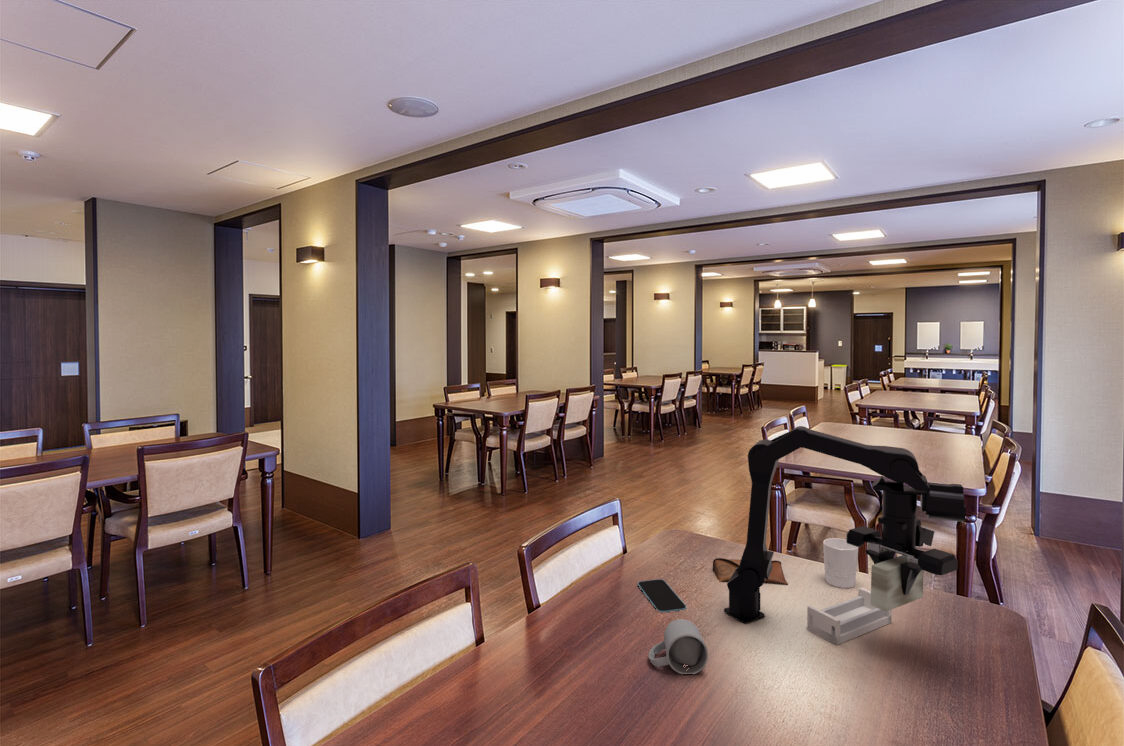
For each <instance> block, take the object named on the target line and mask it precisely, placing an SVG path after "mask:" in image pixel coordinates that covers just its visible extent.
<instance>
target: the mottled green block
mask: <svg viewBox="0 0 1124 746" xmlns="http://www.w3.org/2000/svg"><path fill="white" fill-rule="evenodd" d="M905 562H907V556H904V555H899V556H896V557H893V558H892V559H889V560H886V561H883V562H880V563H877V564H874V563H873V564H871V569H870V570H871V577H870V591H871V605H872V606H874V607H876V608H878V609H881V610H883V611H885V612H887V611H889V610H892V611H893V610H894V609H896V608H899V607H901V606H905V605H907V604H909V603H912V602H914V601H915V602H916V601H917V600H920V599H922V598H924V573H925V571H924V570H921V572H920V573H919V574H918V576H917V578H916V580H915V582H914V584H913V586H912V588H911V590H910V592H909V594H908V595H904V594H903V591H902V582H901V567H900V564H902V563H905Z"/></svg>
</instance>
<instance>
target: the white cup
mask: <svg viewBox="0 0 1124 746" xmlns="http://www.w3.org/2000/svg"><path fill="white" fill-rule="evenodd" d="M822 543H823V566H824V577H825V578H824V579H825V582H826V583H828V584H829V585H831V586H834V587H836V588H842V589H851V588H854V587H855V586H856V581H857V580H856V576H857V571H858V570H857V569H858V559H859V558H858V557H859V547H857V546H854V545H851V544H848V543H847V542H846V538H845V539H844V538H837V537H834V538H832V537H829V538H826V539H824V540H823V542H822Z"/></svg>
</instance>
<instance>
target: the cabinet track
mask: <svg viewBox="0 0 1124 746" xmlns="http://www.w3.org/2000/svg"><path fill="white" fill-rule="evenodd" d="M806 608H807V613H806V614H807V615H806V618H807V621H806V622H807V623H806V629H807V630H808V631H810V632H811V633H814V634H816V635H818V636H819V637H820V638H824V640H827V641H828V642H831V643H833V644H834V645H836V646H838V645H841V644H844V643H845V642H848V641H850V640H852V639H855V638H857V637H860V636H862V635H865V634H867V633H869V632H872V631H874V630H876V629H880V628H882V627H883V626H887V625H889V624H891V623H892V611H893V609H892V610H889V611H887V612H885V611H883V610H881V609H878V608H876V607H874V606H872V605H871V590H868V589H866V588H864V587H859V588H858V596H856V597H853V598H850V599H847V600H845V601H841V602H839V603H836V604H833V605H829V606H828V607H825V608H823V609H819V608H817V607H815V606H814V605H812V604H810V605H807V607H806Z"/></svg>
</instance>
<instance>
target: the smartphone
mask: <svg viewBox="0 0 1124 746" xmlns="http://www.w3.org/2000/svg"><path fill="white" fill-rule="evenodd" d="M638 586H639V587H640V588H641V590H642V591H643V593H644V594H645V595H646V596H647V598H648V599H649V600H650V602H651V603H652V604H653V606H654V607H655V608H656V609H657V610H658V611H659V612H668V613H671V612H670V611H676V612H678V611H677V610H684V609H686V610H687V605H686V604H685V602H683V600H682V599H681V598H680V597H679V596H678V594H677V593H676V592H675V591H674V590H673V589H672V588H671V586H670V585H669V584H668V583H667V582H666V580H664V579H661V578H656V579H649V580H642V581H637V587H638ZM639 587H638V588H639ZM641 590H640V591H641ZM642 591H641V592H642ZM643 593H642V594H643ZM644 594H643V595H644ZM645 595H644V596H645ZM646 596H645V597H646ZM647 598H646V599H647ZM648 599H647V600H648ZM649 600H648V601H649ZM650 602H649V603H650ZM651 603H650V604H651ZM652 604H651V605H652ZM653 606H652V607H653ZM654 607H653V608H654ZM655 608H654V609H655ZM656 609H655V610H656ZM684 611H685V610H684ZM659 612H658V613H659Z"/></svg>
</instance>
